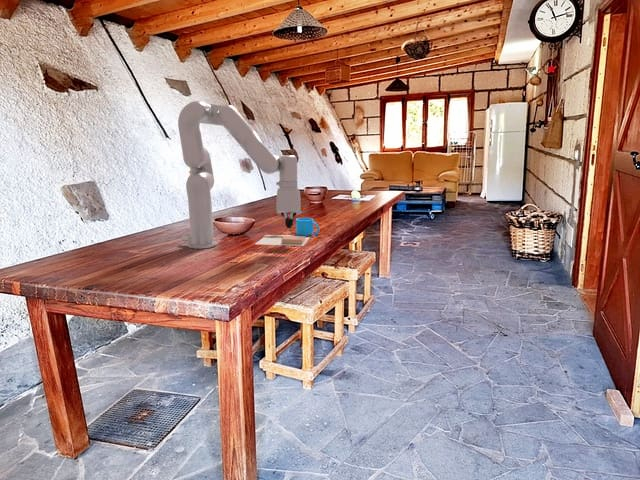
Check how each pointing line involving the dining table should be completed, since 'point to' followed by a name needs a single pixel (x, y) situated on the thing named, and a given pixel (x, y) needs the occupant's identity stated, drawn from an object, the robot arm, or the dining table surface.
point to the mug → (305, 226)
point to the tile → (293, 239)
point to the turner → (278, 236)
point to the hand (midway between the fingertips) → (289, 227)
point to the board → (277, 241)
